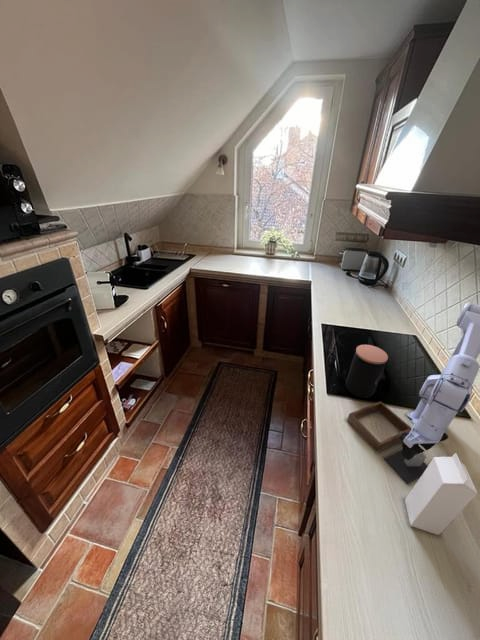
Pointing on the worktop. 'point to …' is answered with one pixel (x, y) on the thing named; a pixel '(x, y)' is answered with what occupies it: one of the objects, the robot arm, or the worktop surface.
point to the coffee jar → (366, 370)
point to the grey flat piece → (416, 460)
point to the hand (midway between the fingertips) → (414, 451)
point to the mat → (405, 467)
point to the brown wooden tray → (367, 435)
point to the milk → (440, 494)
